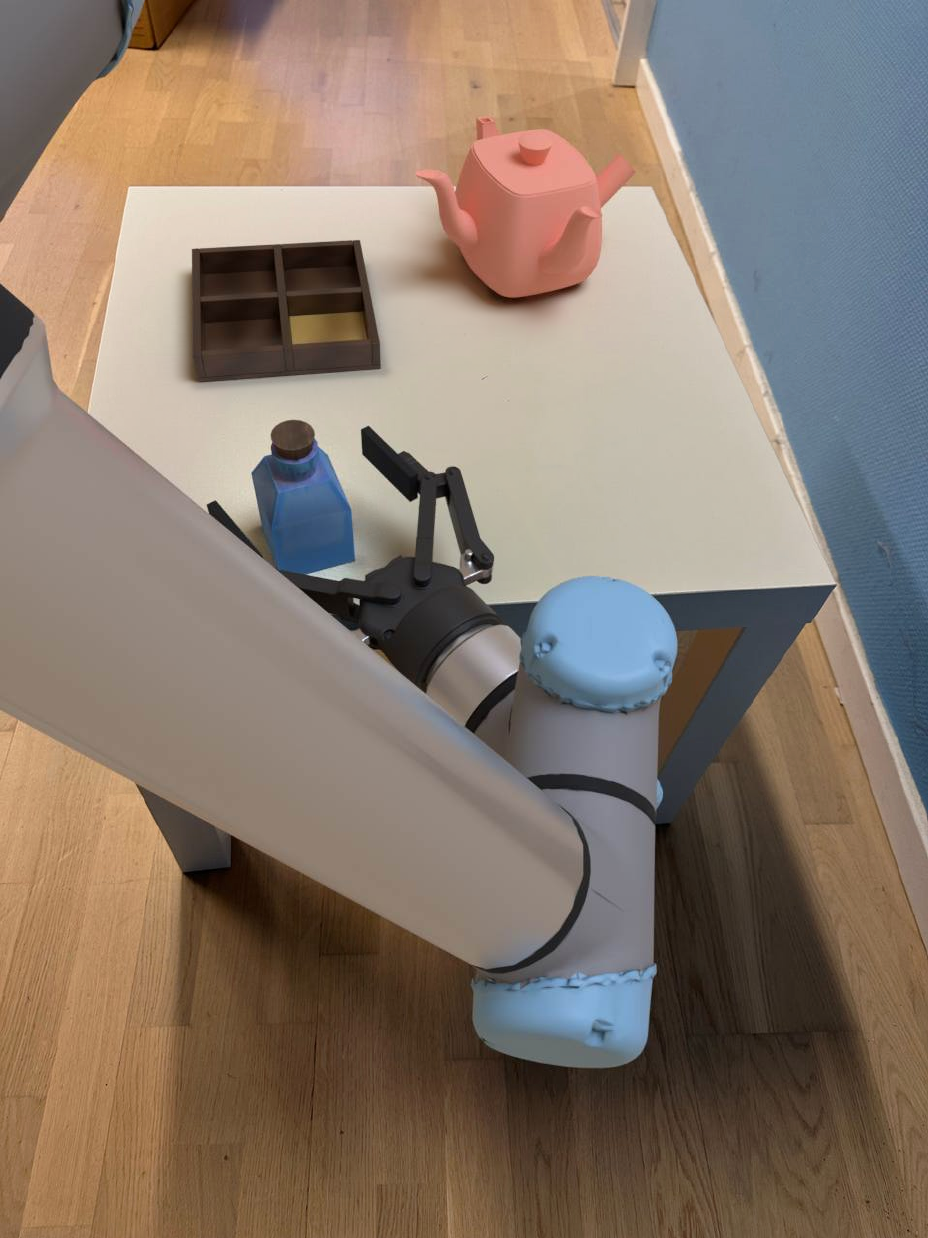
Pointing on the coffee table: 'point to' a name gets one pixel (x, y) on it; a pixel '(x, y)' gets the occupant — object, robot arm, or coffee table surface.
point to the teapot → (526, 209)
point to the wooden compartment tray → (282, 311)
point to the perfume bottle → (302, 503)
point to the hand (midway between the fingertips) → (292, 475)
